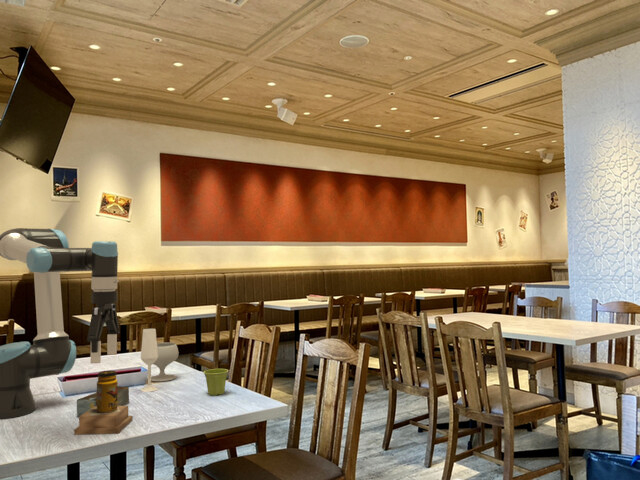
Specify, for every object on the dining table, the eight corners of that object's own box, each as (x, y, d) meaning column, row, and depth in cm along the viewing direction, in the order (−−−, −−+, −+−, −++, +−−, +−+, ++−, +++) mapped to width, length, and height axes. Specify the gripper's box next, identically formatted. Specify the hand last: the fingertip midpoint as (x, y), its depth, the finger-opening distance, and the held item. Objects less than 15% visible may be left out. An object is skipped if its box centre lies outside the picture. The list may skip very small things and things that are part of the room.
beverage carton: (75, 417, 176) (75, 397, 177) (111, 402, 195) (111, 384, 195) (95, 418, 174) (95, 398, 175) (130, 403, 193) (130, 385, 193)
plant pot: (199, 395, 201) (198, 372, 201) (211, 390, 210) (211, 368, 210) (221, 397, 198) (221, 374, 199) (232, 391, 207) (232, 369, 208)
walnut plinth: (74, 434, 158) (74, 417, 158) (91, 421, 171) (91, 405, 171) (118, 433, 158) (118, 416, 158) (132, 420, 171) (132, 404, 171)
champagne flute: (161, 387, 215) (160, 328, 216) (154, 391, 209) (153, 330, 210) (145, 387, 216) (144, 328, 217) (137, 391, 209) (137, 330, 210)
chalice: (183, 375, 238) (183, 342, 238) (171, 382, 224) (171, 347, 224) (153, 375, 239) (153, 342, 240) (139, 382, 225) (139, 347, 226)
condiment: (121, 411, 164) (121, 372, 164) (91, 416, 159) (91, 376, 159) (115, 406, 170) (115, 368, 170) (87, 410, 165) (87, 372, 165)
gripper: (101, 293, 154) (101, 366, 153) (129, 287, 179) (129, 351, 178) (75, 293, 153) (74, 367, 153) (107, 288, 178) (106, 351, 178)
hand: (104, 358), depth 165 cm, fingers open, 13 cm apart
